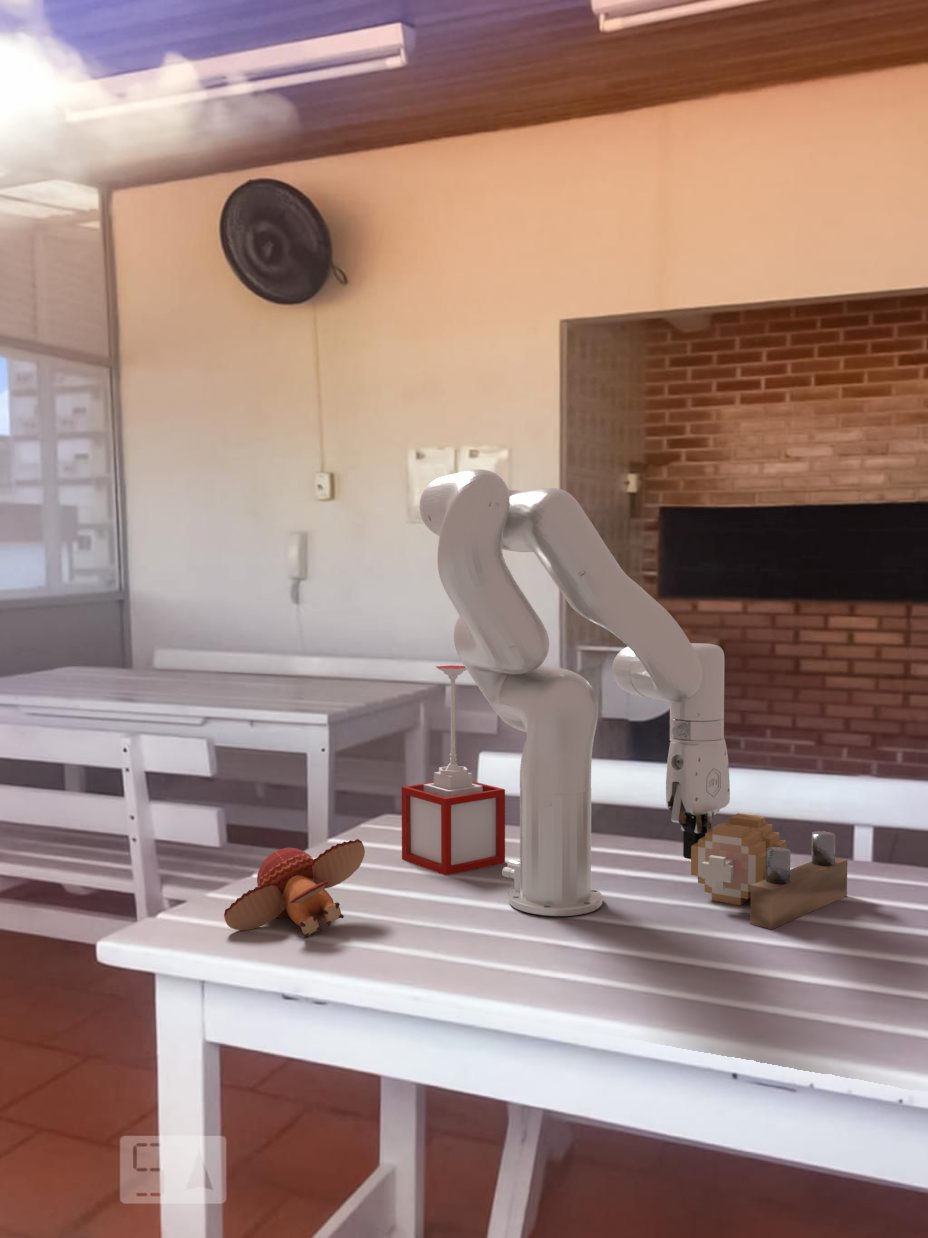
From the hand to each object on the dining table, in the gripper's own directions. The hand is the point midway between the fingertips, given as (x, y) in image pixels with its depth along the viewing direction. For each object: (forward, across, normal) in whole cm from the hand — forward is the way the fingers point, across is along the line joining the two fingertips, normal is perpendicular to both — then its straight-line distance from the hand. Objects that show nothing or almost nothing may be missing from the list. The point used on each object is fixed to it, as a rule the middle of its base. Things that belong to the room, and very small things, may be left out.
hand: (695, 858), depth 155 cm
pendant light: (+4, -16, +33) cm, 37 cm away
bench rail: (+4, 0, -16) cm, 17 cm away
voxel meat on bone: (+4, 0, -7) cm, 8 cm away
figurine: (+4, -50, +27) cm, 57 cm away
